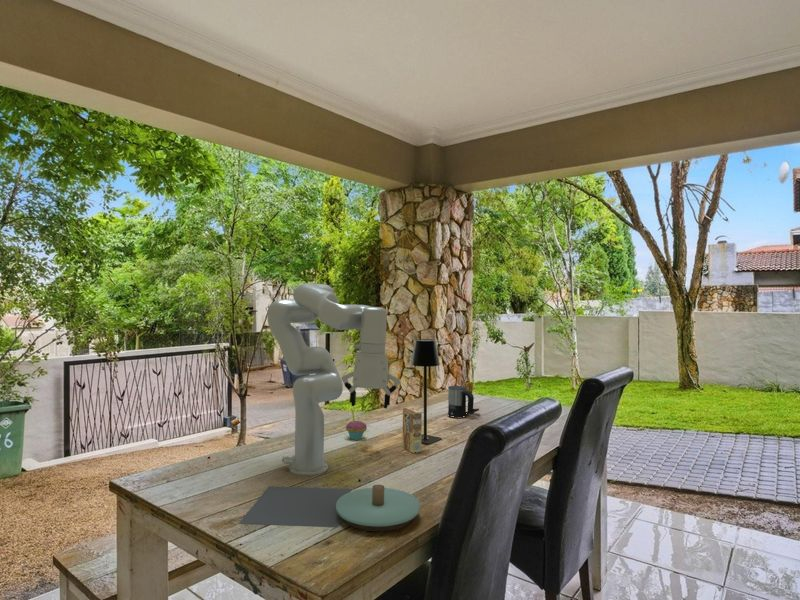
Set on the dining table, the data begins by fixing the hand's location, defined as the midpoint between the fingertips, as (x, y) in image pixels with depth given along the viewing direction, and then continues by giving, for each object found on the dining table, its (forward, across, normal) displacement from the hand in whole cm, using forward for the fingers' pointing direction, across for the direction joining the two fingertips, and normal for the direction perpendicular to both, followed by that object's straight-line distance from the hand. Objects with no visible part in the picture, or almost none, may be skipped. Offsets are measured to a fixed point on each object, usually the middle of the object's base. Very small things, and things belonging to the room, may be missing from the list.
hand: (369, 406), depth 146 cm
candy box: (+27, +12, +44) cm, 53 cm away
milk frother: (+28, +35, +104) cm, 114 cm away
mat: (+26, -16, -12) cm, 33 cm away
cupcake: (+28, -12, +56) cm, 64 cm away
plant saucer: (+26, +6, -16) cm, 31 cm away
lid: (+23, +5, -16) cm, 28 cm away
